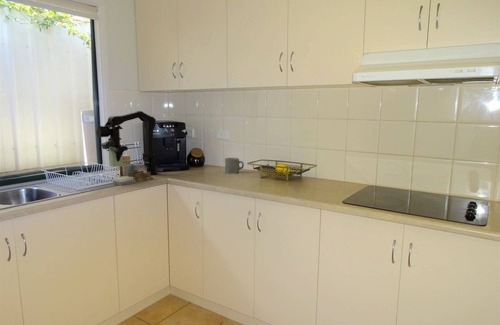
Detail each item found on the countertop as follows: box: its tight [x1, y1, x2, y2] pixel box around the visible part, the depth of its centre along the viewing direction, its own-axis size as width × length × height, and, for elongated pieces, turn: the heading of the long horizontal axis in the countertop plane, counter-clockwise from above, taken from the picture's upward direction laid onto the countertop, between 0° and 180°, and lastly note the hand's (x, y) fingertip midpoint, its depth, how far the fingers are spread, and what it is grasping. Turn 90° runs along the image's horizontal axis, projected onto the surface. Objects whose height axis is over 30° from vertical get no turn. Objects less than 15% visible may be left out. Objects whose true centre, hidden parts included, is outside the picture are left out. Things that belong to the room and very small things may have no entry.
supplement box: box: [116, 154, 131, 172], centre depth 237 cm, size 8×5×13 cm, turn 143°
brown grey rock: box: [119, 163, 154, 183], centre depth 222 cm, size 11×20×8 cm, turn 52°
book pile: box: [112, 176, 136, 186], centre depth 208 cm, size 11×9×3 cm
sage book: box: [108, 150, 124, 168], centre depth 216 cm, size 7×4×10 cm, turn 142°
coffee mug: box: [224, 157, 245, 175], centre depth 246 cm, size 13×10×10 cm
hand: (116, 161), depth 216 cm, fingers closed on sage book, 4 cm apart
